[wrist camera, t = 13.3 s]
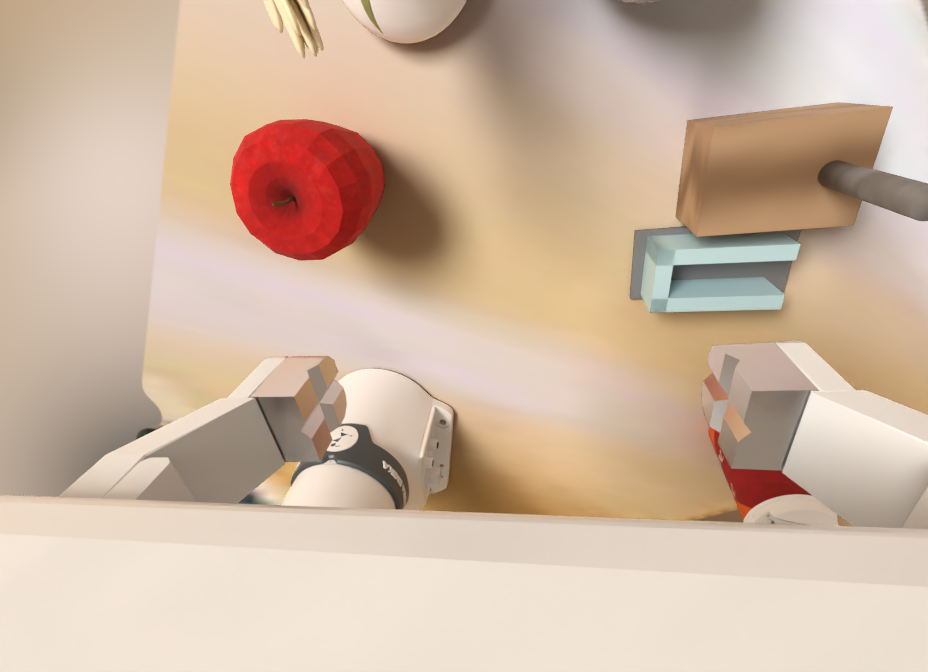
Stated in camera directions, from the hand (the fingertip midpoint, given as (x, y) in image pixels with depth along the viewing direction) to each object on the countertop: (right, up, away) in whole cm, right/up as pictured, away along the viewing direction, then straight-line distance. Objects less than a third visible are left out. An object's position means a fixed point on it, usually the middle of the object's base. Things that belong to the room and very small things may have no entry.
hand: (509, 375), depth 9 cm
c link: (+22, +8, +31) cm, 39 cm away
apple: (-12, +17, +32) cm, 38 cm away
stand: (+23, +16, +27) cm, 39 cm away
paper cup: (+31, -10, +41) cm, 53 cm away
